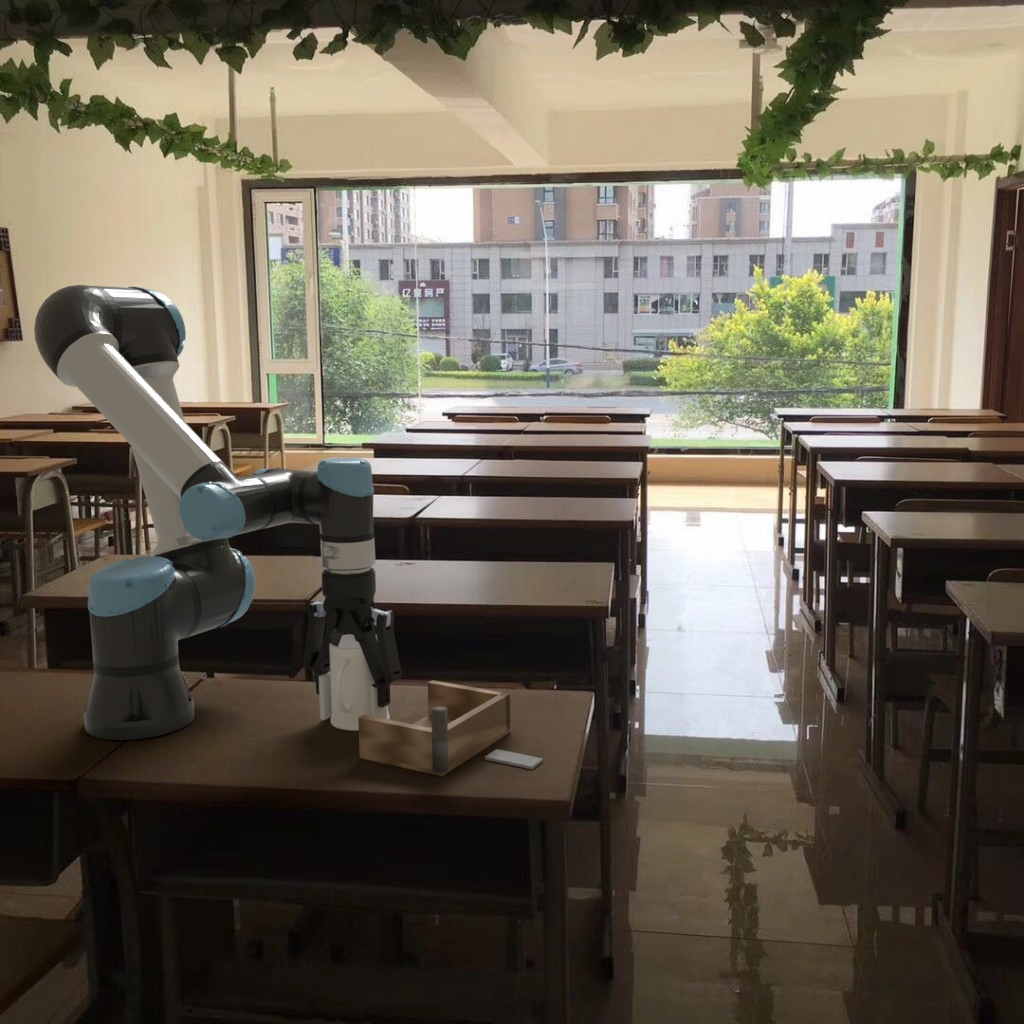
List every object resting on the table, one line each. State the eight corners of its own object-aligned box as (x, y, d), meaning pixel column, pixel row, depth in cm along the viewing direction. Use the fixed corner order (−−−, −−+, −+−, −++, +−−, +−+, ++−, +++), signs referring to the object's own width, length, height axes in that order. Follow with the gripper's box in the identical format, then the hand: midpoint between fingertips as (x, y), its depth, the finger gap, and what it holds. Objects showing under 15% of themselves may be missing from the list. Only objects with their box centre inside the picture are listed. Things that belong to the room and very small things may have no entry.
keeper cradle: (357, 758, 142) (355, 696, 141) (433, 717, 158) (431, 660, 156) (442, 778, 136) (441, 712, 134) (512, 732, 151) (512, 673, 150)
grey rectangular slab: (485, 759, 141) (485, 756, 141) (496, 751, 144) (496, 749, 144) (531, 769, 138) (531, 766, 138) (542, 761, 141) (542, 758, 141)
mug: (361, 742, 148) (358, 658, 146) (307, 735, 151) (304, 652, 149) (399, 714, 159) (397, 635, 157) (348, 708, 162) (345, 630, 160)
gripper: (272, 565, 153) (279, 717, 157) (394, 581, 143) (398, 743, 147) (307, 556, 160) (312, 702, 163) (426, 570, 149) (429, 726, 153)
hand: (353, 721), depth 155 cm, fingers closed on mug, 8 cm apart
